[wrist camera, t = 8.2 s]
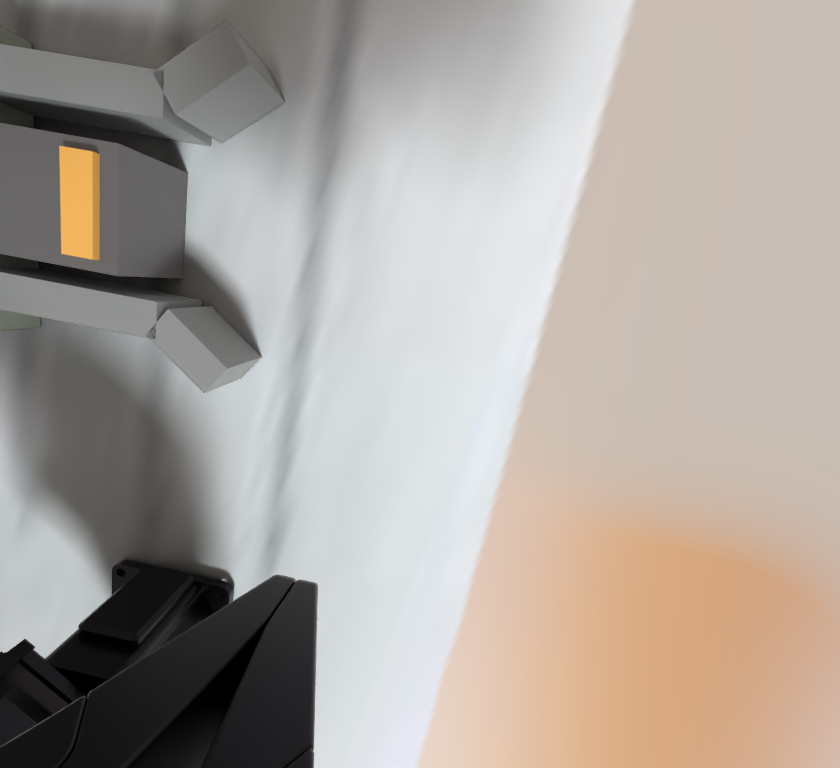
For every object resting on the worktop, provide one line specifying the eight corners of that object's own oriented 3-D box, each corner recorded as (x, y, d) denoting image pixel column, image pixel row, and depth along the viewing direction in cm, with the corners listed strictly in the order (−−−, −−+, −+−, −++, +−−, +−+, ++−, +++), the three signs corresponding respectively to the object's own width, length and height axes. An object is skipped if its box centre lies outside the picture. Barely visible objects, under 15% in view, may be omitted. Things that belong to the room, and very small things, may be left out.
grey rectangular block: (185, 278, 19) (110, 275, 15) (42, 251, 20) (-69, 241, 16) (190, 174, 18) (112, 140, 14) (39, 147, 19) (-81, 106, 15)
